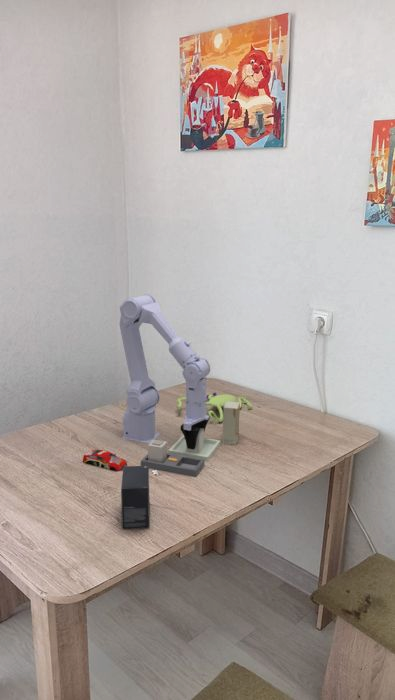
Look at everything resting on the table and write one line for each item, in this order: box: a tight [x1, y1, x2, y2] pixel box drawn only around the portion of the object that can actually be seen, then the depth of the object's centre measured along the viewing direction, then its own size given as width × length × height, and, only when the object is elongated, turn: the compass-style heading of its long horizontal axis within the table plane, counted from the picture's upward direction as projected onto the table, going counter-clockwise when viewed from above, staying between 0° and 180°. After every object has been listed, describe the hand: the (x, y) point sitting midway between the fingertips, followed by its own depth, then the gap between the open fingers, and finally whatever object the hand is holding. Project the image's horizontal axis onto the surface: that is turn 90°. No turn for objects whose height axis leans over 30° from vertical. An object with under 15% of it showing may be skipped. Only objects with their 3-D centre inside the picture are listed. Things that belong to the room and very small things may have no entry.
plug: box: [186, 428, 205, 453], centre depth 164 cm, size 4×4×6 cm
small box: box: [120, 465, 151, 530], centre depth 130 cm, size 11×6×10 cm, turn 5°
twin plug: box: [147, 439, 168, 463], centre depth 155 cm, size 4×4×6 cm
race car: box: [82, 449, 128, 473], centre depth 155 cm, size 13×5×4 cm, turn 63°
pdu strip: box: [140, 452, 206, 478], centre depth 154 cm, size 16×7×3 cm, turn 70°
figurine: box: [176, 392, 253, 426], centre depth 197 cm, size 18×27×6 cm
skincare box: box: [221, 401, 241, 446], centre depth 170 cm, size 6×4×12 cm
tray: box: [167, 434, 222, 462], centre depth 165 cm, size 12×12×2 cm
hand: (195, 444), depth 165 cm, fingers open, 6 cm apart
